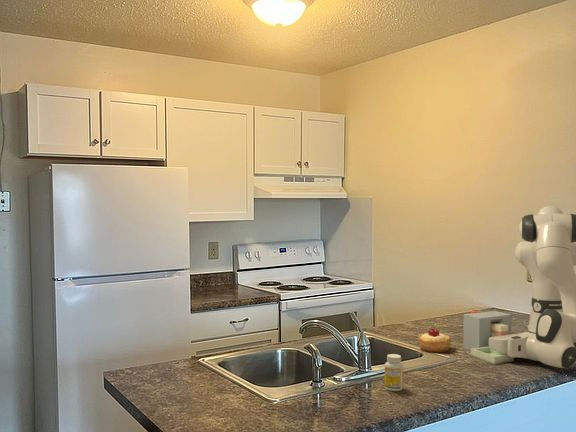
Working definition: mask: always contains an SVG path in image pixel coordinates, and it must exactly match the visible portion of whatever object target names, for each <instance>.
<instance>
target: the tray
mask: <svg viewBox="0 0 576 432" xmlns="http://www.w3.org/2000/svg"><path fill="white" fill-rule="evenodd" d="M470 357H472V358H474V359H475V358H476V359H478V360H481V361H484V362H487V363H489V364H492V365H498V364H504V363H511V362H514V361H515V359H514V357H509V356H508V354H504V353H501V352H498V351H495V350H493V349H491V348H489V346H488V347H481V348H474V349H471V350H470Z"/></svg>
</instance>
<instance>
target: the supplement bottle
mask: <svg viewBox="0 0 576 432" xmlns="http://www.w3.org/2000/svg"><path fill="white" fill-rule="evenodd" d="M386 360H387V361H385V363H384V389H385V390H387V391H390V392H401V391H402V390H403V389H404V364H403V363H402V356H401V355H400V354H396V353H390V354H387V356H386Z"/></svg>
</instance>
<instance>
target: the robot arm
mask: <svg viewBox="0 0 576 432" xmlns="http://www.w3.org/2000/svg"><path fill="white" fill-rule="evenodd" d="M518 226H519V227H518V229H519V234H520V237H521V239H523V241H519V242H518V243H517V244H516V245H515V248H514V256H515V259H516V260H517V262H518V263H519V264H520V265H522V266H523V267H524V268H525V269H526V270H527V272H528V273H529V275H530V278H531V283H532V284H531V285H532V297H531V302H530V303H531V309H530V312H529V313H530V314H529V323H528V324H527V325H526V326H527V330H528V331H529V332H528V331H524V332H519V333H513V334H512V333H511V334H508V335H504V336H497V335H492V336H491V337H490V338H489V348H491V349H493V350H495V351H498V352H501V353H504V354H508V356H509V357H514V358H515V359H516V358H518V359H519V358H523V359H526V360H531V361H535V362H540V363H542V364H544V365H547V366H551V367H553V368H560V369H566V368H569V367H571V366H573V365H574V363H575V362H576V272H575V269H574V266H576V213H575V214H574V213H569V214H568V213H564V212H563V211H562V210H561V209H560V208H559V207H557V206H555V205H554V206H553V205H546V206H544V207H542V208H540V210H539V211H538V212H537V214H533V213H531V214H526V215H524V216H523V217H521V220H520V222H519V225H518Z"/></svg>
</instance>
